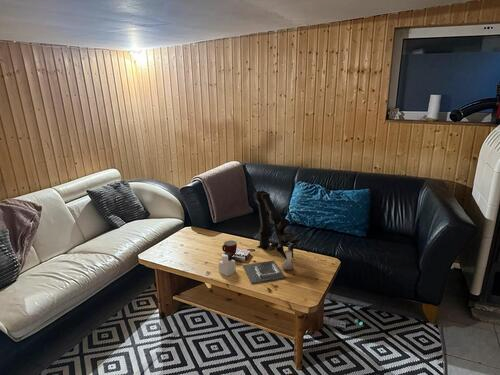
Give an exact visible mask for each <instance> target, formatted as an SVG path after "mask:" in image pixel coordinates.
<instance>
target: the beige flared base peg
mask: <svg viewBox="0 0 500 375" xmlns="http://www.w3.org/2000/svg"><path fill="white" fill-rule="evenodd" d="M284 252H285V255H286V258H287V259H285V258H284V263H282V264H281V269H283V270H285V271H291V270H294V268H295V265H294V264H293V263H292V252H291V251H289V250H284Z"/></svg>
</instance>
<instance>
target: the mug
mask: <svg viewBox="0 0 500 375" xmlns="http://www.w3.org/2000/svg"><path fill="white" fill-rule="evenodd" d="M237 243H238V242H237V241H236V240H232V239H231V240H225V241H224V242H223V245H222V246H221V247H222V248H221V249H222V251H223V253H225V252H229V253H231V254H232V256H233V255H234V254H235V253H236V254H237V248H238V244H237ZM236 254H235V255H236Z"/></svg>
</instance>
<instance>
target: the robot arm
mask: <svg viewBox="0 0 500 375" xmlns="http://www.w3.org/2000/svg"><path fill="white" fill-rule="evenodd" d="M253 198H254V201H255V203H256V204H257V208H258V213H259V214H258V215H259V222H260V226H259V228H258V229H259V232H258V234H256V237H257V239H258V240H259V245H258V246H257V248H260V249H263V250H267V249H269V251H270V252H271V251H276V252H277V253H279V254H280V255H281V256H282V257H283V259H284V260H285V259H287V258H286V255H285V250H284V247H285V246H287V249H288V250H289V251H291V252H292V258H294V247H295V246H298V245H299V244H300V243H301V240H300V238H298V237H297V238H295V234H294V232H289V234H288V233H287V232H286V230H287V229H288V227H290V224H291V223H290V220H289V219H288V218H286V217H285V216H282V215H281V213H280V211H278V210H277V209H276V207H275V205H274V203H273V201H272V198H271V194H270V193H269V192H268V191H266V190H265V189H263V190H256V191H254V193H253ZM267 213H268V215H269V216H268V215H267ZM268 220H269V222H268ZM269 224H271V225H273V228H272V227H271V226H270V225H269ZM273 231H274V232H275V235H276V237H275V238H276V240H277V241H278V242H272V243H271V241H270V240H271V239H272V238H273Z"/></svg>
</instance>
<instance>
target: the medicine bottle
mask: <svg viewBox="0 0 500 375" xmlns="http://www.w3.org/2000/svg"><path fill="white" fill-rule="evenodd" d="M236 266H237V265H236V260H235V259H233V258H232V254H231V253H229V252H223V253H222V254H221V260H220V261H219V262H218V273H219V274H222V275H223V276H226V277H230V276H231V275H232V274H234V273H236V272H237V271H236Z"/></svg>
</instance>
